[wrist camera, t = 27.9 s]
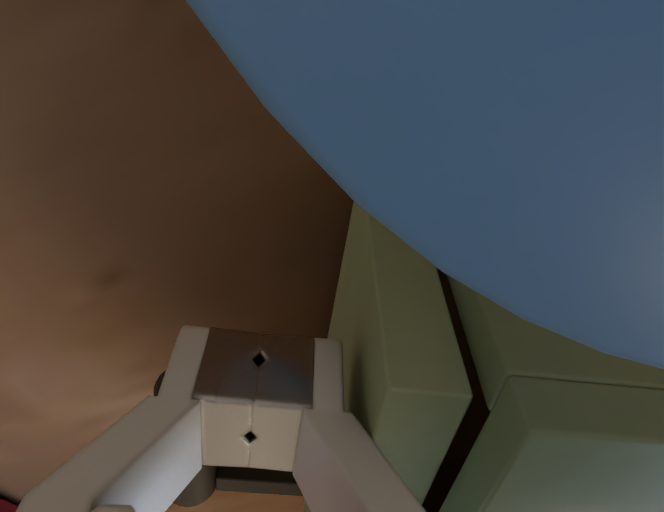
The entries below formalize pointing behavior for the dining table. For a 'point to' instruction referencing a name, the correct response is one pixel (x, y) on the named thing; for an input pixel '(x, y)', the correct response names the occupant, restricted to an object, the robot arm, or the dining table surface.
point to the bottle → (486, 141)
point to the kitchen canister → (7, 506)
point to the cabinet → (557, 421)
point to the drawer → (389, 371)
